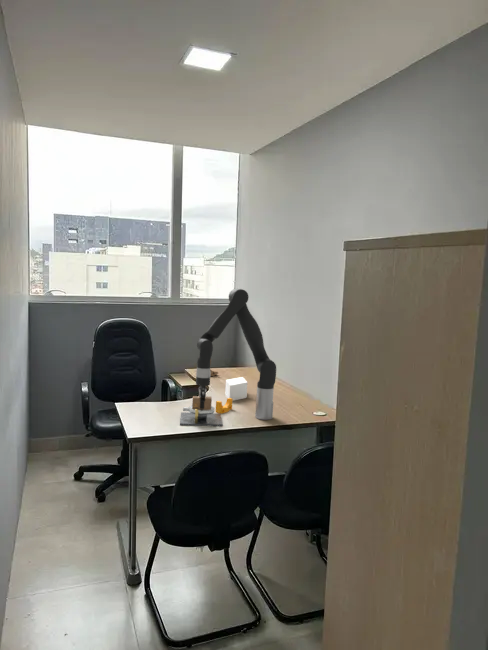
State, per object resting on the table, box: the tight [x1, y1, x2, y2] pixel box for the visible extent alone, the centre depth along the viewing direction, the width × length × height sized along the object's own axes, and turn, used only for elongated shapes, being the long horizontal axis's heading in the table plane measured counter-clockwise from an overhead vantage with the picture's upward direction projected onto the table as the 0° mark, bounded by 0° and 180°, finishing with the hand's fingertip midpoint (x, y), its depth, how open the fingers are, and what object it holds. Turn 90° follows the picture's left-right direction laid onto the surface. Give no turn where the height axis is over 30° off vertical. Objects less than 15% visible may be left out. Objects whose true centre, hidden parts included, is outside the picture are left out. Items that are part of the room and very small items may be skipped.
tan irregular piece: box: [210, 359, 219, 377], centre depth 381 cm, size 15×12×15 cm
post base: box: [179, 411, 224, 427], centre depth 265 cm, size 22×20×5 cm
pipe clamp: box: [215, 397, 233, 415], centre depth 286 cm, size 12×4×6 cm, turn 143°
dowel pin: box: [195, 409, 198, 423], centre depth 257 cm, size 2×2×7 cm
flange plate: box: [182, 395, 216, 415], centre depth 264 cm, size 17×14×8 cm
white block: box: [224, 376, 248, 402], centre depth 321 cm, size 14×29×10 cm, turn 165°
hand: (201, 407), depth 265 cm, fingers closed on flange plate, 4 cm apart
